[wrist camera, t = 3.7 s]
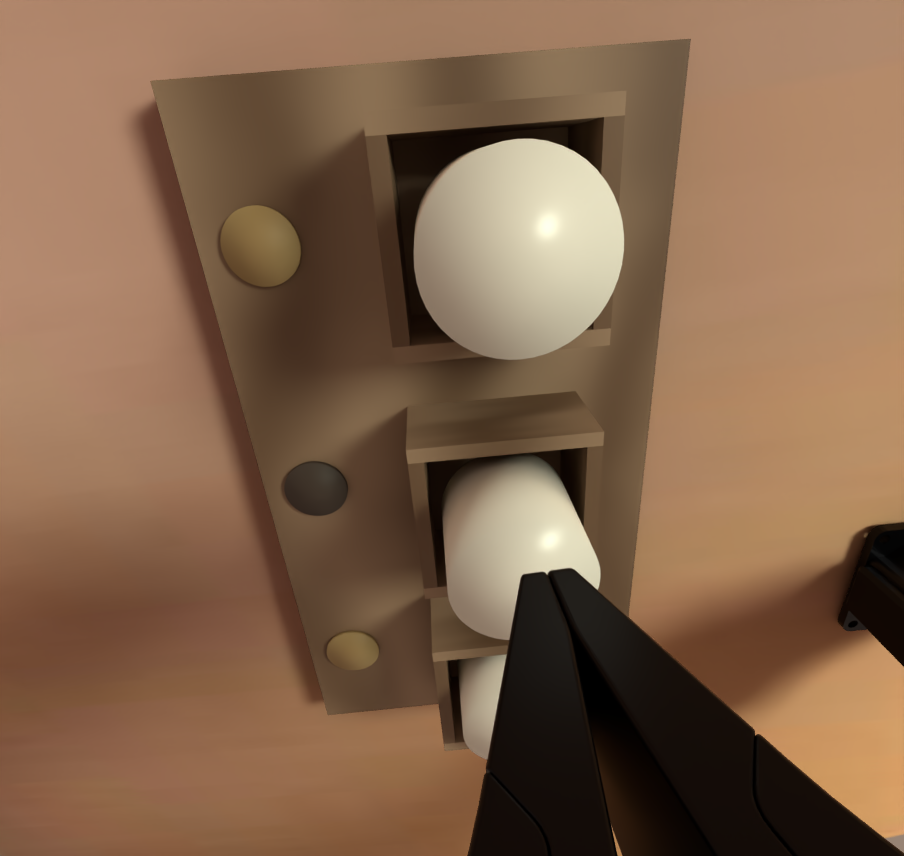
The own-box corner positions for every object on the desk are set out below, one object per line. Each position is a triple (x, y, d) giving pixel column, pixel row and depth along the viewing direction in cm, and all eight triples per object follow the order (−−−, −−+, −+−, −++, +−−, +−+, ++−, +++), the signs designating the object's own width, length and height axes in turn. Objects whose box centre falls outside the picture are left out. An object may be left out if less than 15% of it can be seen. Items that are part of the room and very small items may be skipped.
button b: (566, 444, 18) (604, 515, 14) (563, 547, 20) (596, 632, 16) (436, 456, 17) (441, 531, 14) (446, 559, 19) (453, 647, 16)
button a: (552, 605, 23) (576, 685, 19) (550, 673, 25) (573, 757, 21) (452, 615, 23) (459, 697, 19) (459, 682, 25) (466, 768, 21)
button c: (575, 139, 14) (632, 129, 10) (570, 308, 15) (616, 350, 12) (405, 153, 13) (401, 147, 10) (422, 321, 15) (424, 368, 12)
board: (671, 47, 16) (759, 6, 12) (613, 665, 28) (646, 749, 24) (168, 86, 15) (81, 58, 11) (331, 693, 28) (316, 783, 23)
